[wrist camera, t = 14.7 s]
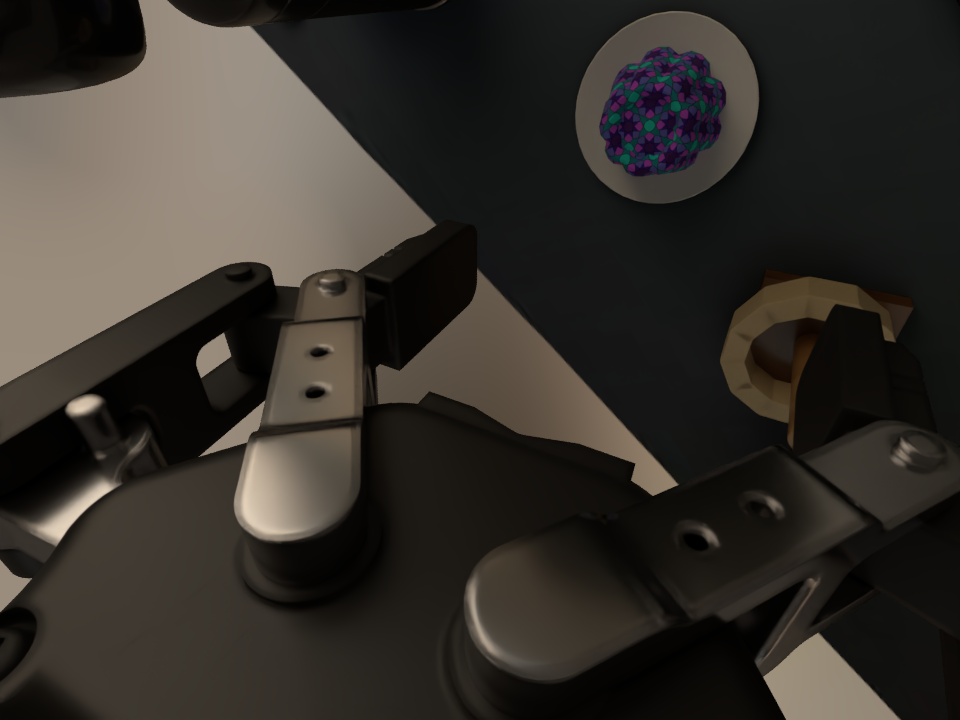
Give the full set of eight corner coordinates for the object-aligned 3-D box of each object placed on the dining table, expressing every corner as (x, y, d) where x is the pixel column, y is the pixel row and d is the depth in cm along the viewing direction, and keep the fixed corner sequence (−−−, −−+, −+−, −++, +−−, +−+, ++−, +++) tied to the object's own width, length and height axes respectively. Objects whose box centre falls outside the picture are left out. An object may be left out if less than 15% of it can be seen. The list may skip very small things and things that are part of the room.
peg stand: (730, 366, 45) (708, 466, 36) (766, 268, 39) (750, 357, 30) (854, 399, 41) (863, 519, 32) (911, 297, 36) (941, 406, 27)
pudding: (667, -37, 33) (647, -38, 29) (804, 104, 33) (802, 121, 30) (547, 121, 41) (519, 137, 37) (658, 232, 42) (642, 258, 38)
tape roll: (712, 379, 44) (706, 400, 42) (750, 264, 38) (746, 281, 36) (856, 418, 41) (858, 444, 38) (924, 298, 35) (931, 320, 32)
